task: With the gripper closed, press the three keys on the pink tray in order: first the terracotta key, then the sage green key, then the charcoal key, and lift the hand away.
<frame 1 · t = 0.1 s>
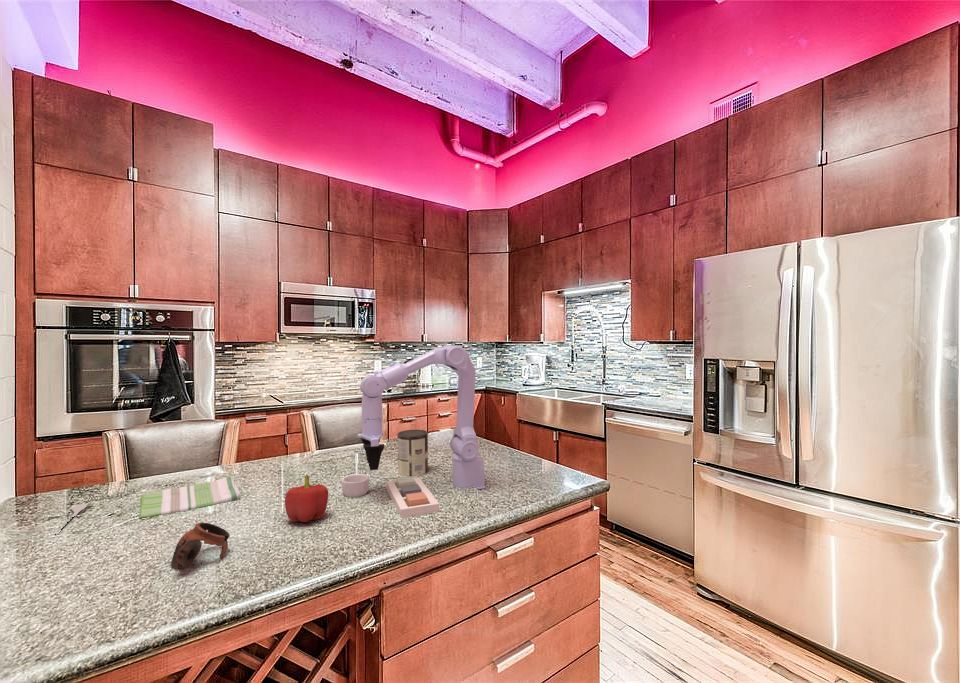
hand: (372, 465, 122), 10 cm above the counter, tool pointing down, fingers open, 7 cm apart
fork: (72, 520, 111), on the counter
key sage: (405, 483, 127), point 3 cm above the counter, slide at 0.0 cm
brown curved piece: (197, 562, 89), on the counter
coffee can: (413, 474, 145), on the counter
teacup: (355, 495, 126), on the counter
key terracotta: (416, 500, 114), point 3 cm above the counter, slide at 0.0 cm
dish towel: (191, 502, 123), on the counter
key charcoal: (410, 491, 120), point 3 cm above the counter, slide at 0.0 cm
pink tray: (411, 502, 120), on the counter
vegetable: (307, 519, 110), on the counter
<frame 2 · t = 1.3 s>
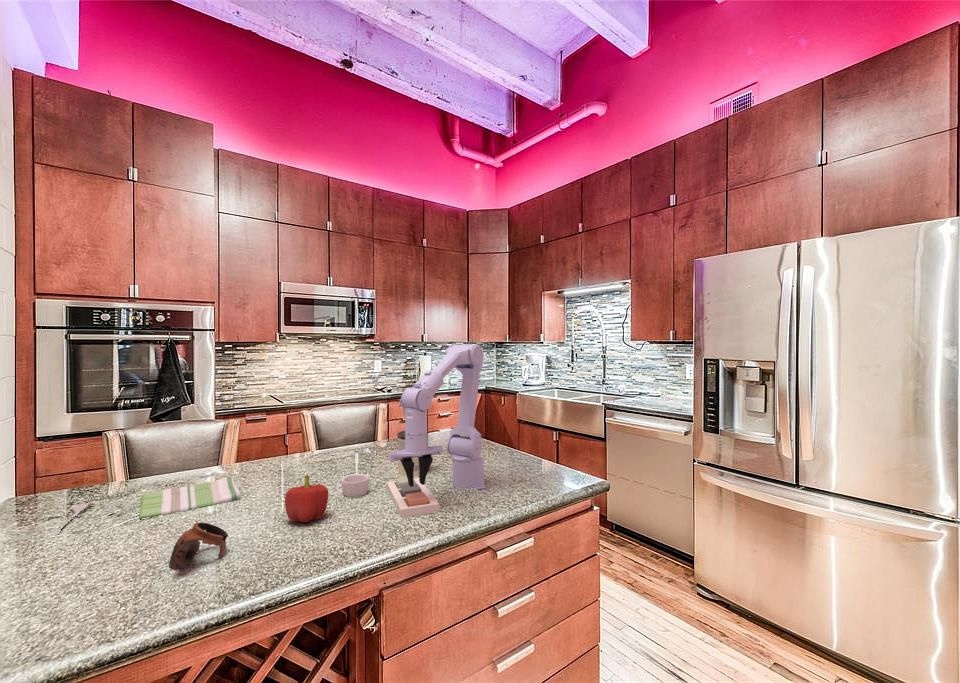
hand: (416, 484, 113), 7 cm above the counter, tool pointing down, fingers closed
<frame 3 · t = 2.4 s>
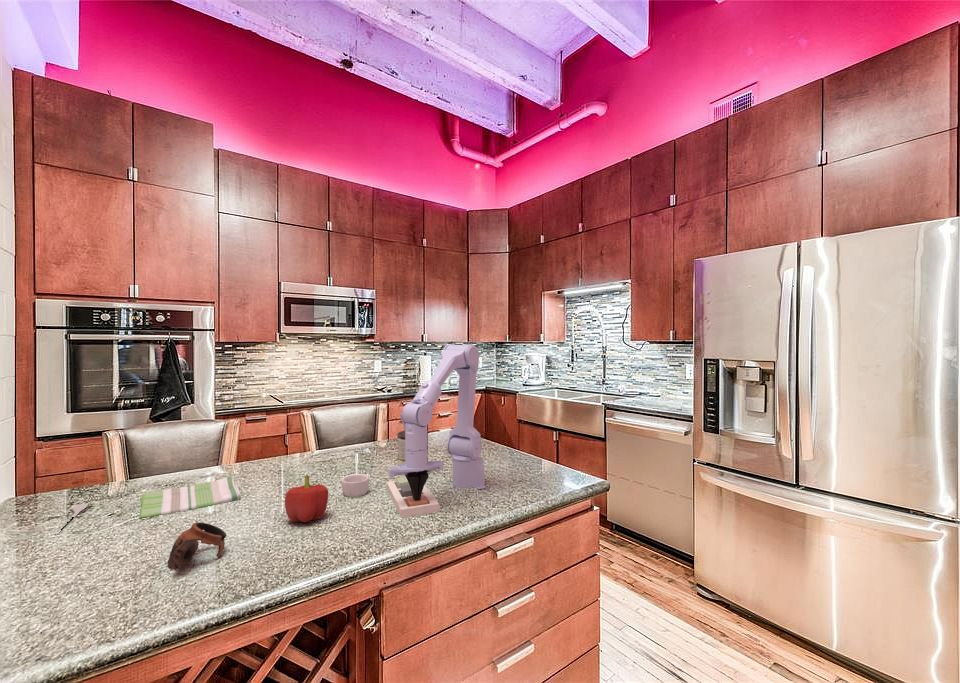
hand: (416, 499, 113), 3 cm above the counter, tool pointing down, fingers closed, pressing on key terracotta
key terracotta: (416, 503, 114), point 2 cm above the counter, slide at 0.8 cm, touching gripper, pink tray
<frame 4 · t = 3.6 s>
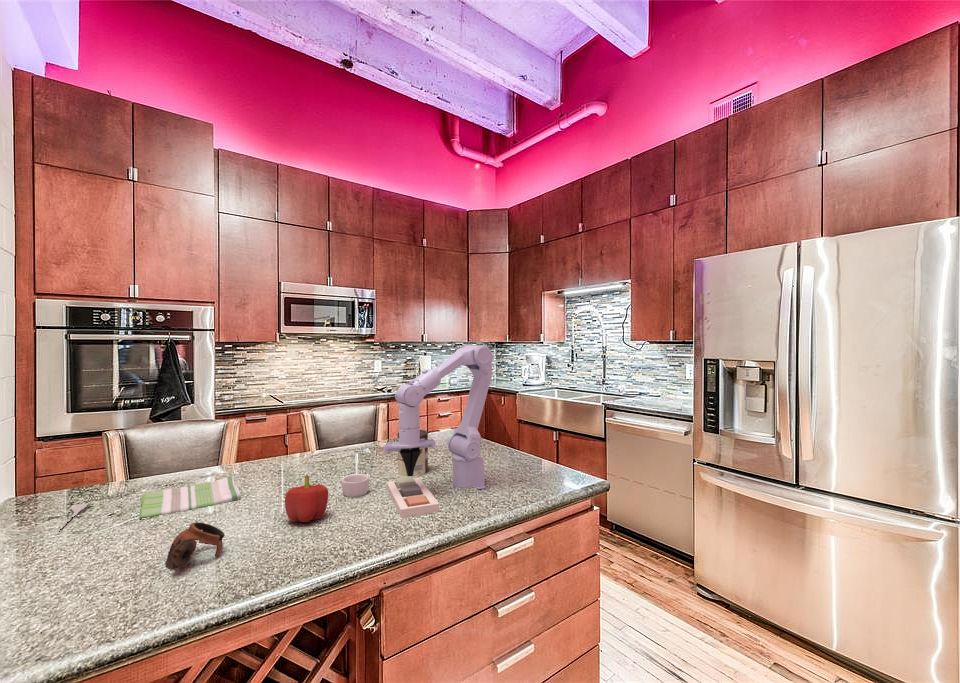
hand: (409, 475, 121), 7 cm above the counter, tool pointing down, fingers closed
key terracotta: (416, 503, 114), point 2 cm above the counter, slide at 0.8 cm, touching pink tray
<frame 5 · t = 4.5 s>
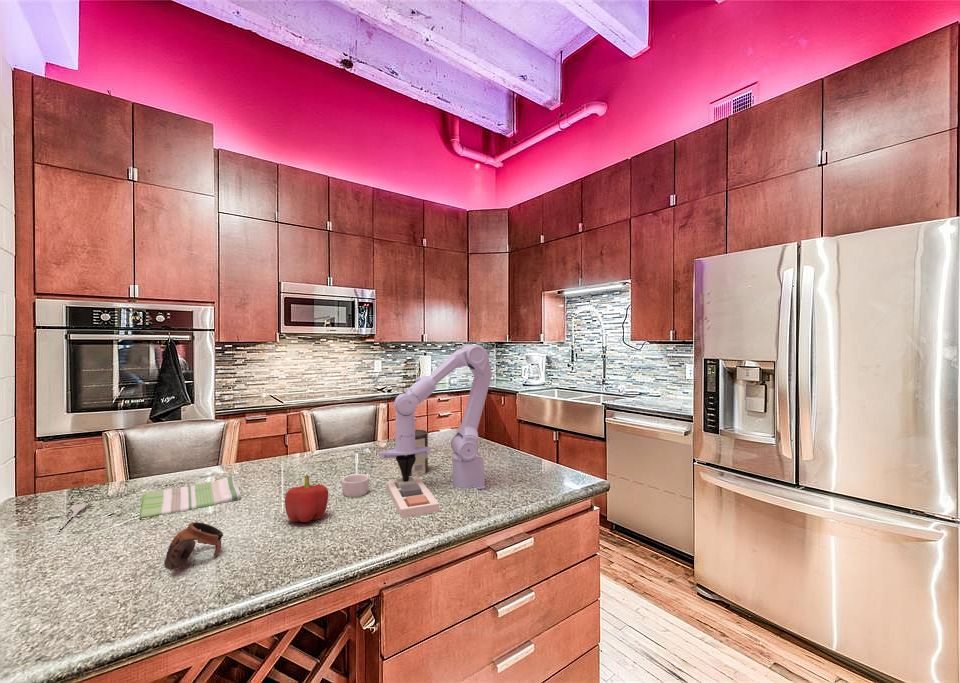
hand: (405, 480, 126), 4 cm above the counter, tool pointing down, fingers closed, pressing on key sage
key sage: (405, 484, 127), point 3 cm above the counter, slide at 0.2 cm, touching gripper
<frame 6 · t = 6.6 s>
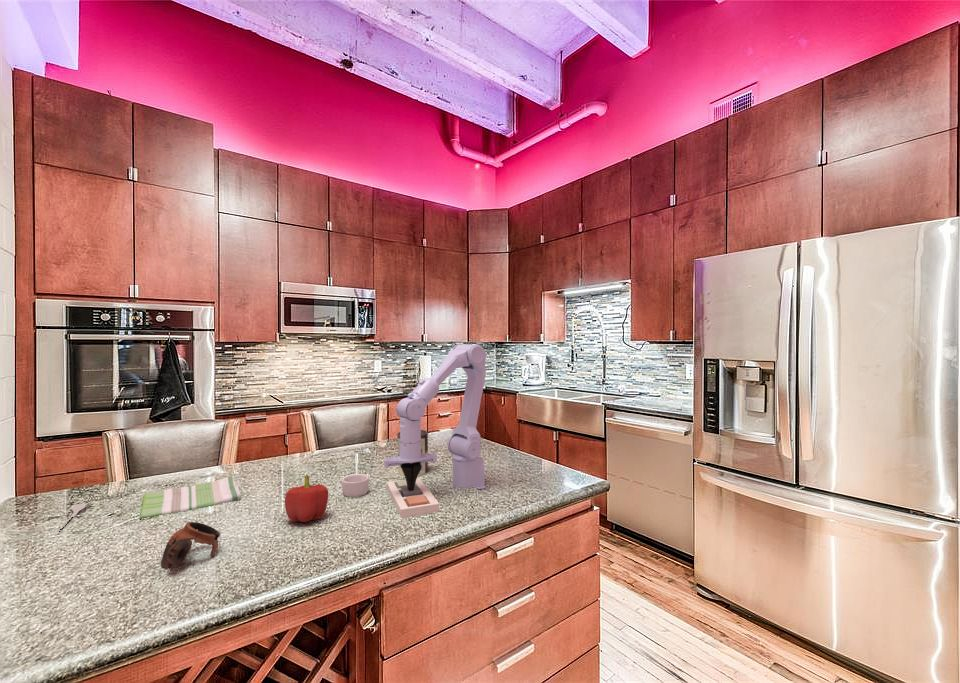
hand: (410, 489, 120), 4 cm above the counter, tool pointing down, fingers closed, pressing on key charcoal
key sage: (405, 486, 127), point 2 cm above the counter, slide at 0.8 cm, touching pink tray
key charcoal: (410, 493, 120), point 3 cm above the counter, slide at 0.6 cm, touching gripper
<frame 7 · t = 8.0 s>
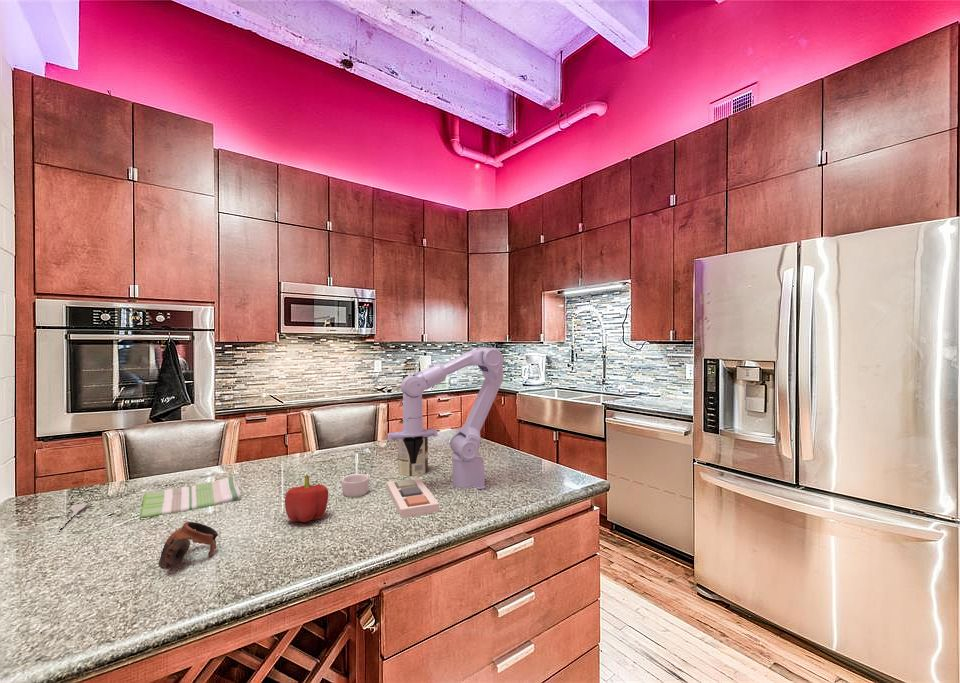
hand: (413, 462, 126), 9 cm above the counter, tool pointing down, fingers closed
key charcoal: (410, 494, 120), point 2 cm above the counter, slide at 0.8 cm, touching pink tray
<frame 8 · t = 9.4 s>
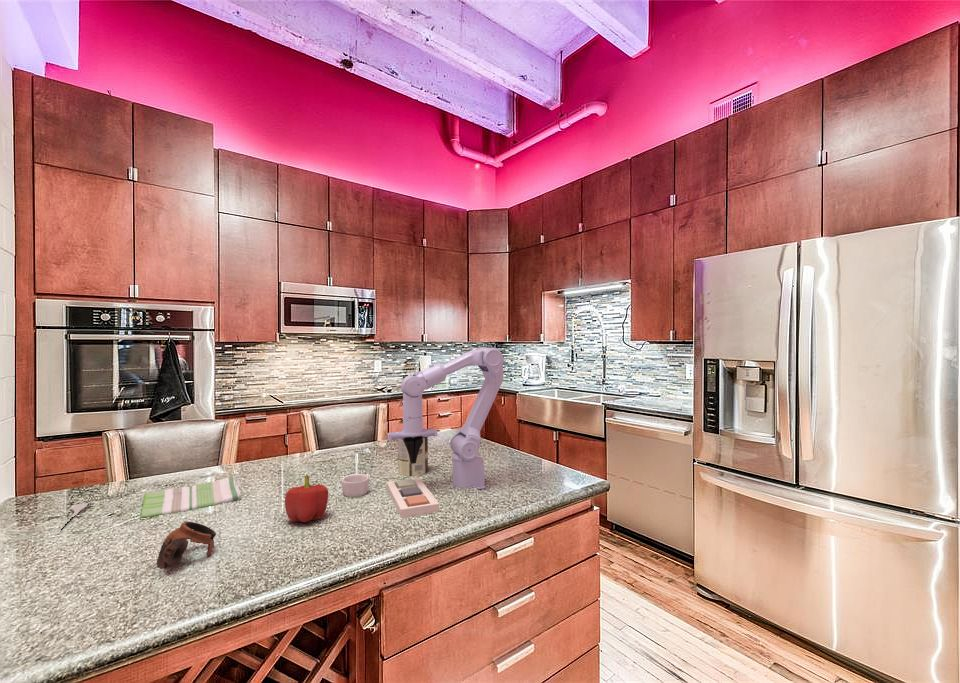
hand: (413, 462, 126), 9 cm above the counter, tool pointing down, fingers closed
at the end: key terracotta slide at 0.8 cm; key sage slide at 0.8 cm; key charcoal slide at 0.8 cm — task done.
